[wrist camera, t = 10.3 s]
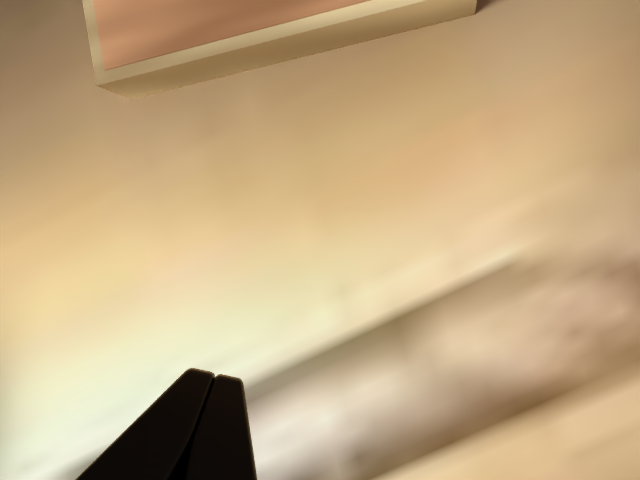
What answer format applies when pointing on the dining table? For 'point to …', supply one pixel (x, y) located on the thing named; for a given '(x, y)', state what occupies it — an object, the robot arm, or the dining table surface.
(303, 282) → the dining table surface
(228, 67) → the brown tile
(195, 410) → the robot arm
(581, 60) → the dining table surface
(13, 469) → the dining table surface
